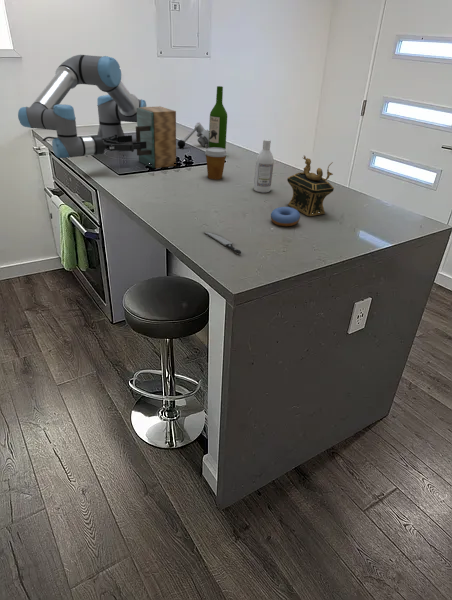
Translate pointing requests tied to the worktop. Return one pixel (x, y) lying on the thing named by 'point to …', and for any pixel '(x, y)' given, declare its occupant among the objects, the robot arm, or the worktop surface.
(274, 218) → the doughnut
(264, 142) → the bath foam
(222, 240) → the chef's knife
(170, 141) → the cabinet
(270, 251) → the worktop surface
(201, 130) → the mechanical valve
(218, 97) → the wine bottle
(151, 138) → the door
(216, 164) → the disposable coffee cup
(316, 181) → the decorative box
